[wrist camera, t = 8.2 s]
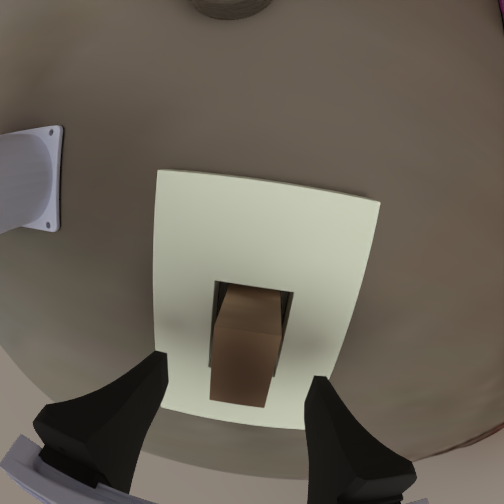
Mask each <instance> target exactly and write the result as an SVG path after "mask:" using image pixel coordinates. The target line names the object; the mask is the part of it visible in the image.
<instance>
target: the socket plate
mask: <svg viewBox="0 0 504 504" xmlns="http://www.w3.org/2000/svg"><path fill="white" fill-rule="evenodd" d="M379 207H380V202H378V201H376V200H373V199H371V198H368V197H363V196H358V195H353V194H348V193H343V192H338V191H333V190H328V189H322V188H317V187H311V186H305V185H299V184H293V183H287V182H280V181H273V180H267V179H259V178H252V177H244V176H236V175H228V174H219V173H210V172H200V171H189V170H177V169H163V170H158V173H157V185H156V198H155V215H154V239H153V309H154V333H155V349H156V351H161V352H165V353H167V359H168V377H169V383H168V386H167V389H166V392H165V395H164V398H163V400H162V402H161V407H163V408H167V409H171V410H175V411H179V412H183V413H188V414H192V415H197V416H202V417H207V418H212V419H217V420H223V421H229V422H235V423H242V424H249V425H257V426H266V427H276V428H289V429H305V424H304V402H305V399H306V396H307V394H308V391H309V388H310V386H311V383H312V380H313V377H314V375H316V376H326V377H327V378H328V380H329V378H330V376H331V373H332V371H333V368H334V365H335V363H336V360H337V357H338V355H339V352H340V349H341V346H342V343H343V341H344V338H345V335H346V332H347V329H348V326H349V323H350V320H351V317H352V313H353V310H354V307H355V304H356V300H357V297H358V294H359V290H360V287H361V283H362V279H363V276H364V272H365V268H366V265H367V261H368V257H369V253H370V249H371V244H372V240H373V236H374V231H375V227H376V222H377V217H378V212H379ZM220 281H223V282H229V283H235V284H242V285H248V286H255V287H262V288H268V289H275V290H282V291H290V293H289V298H288V303H287V307H286V312H285V317H284V321H283V326H282V337H281V341H280V346H279V350H278V354H277V359H276V363H275V367H274V371H273V375H272V379H271V383H270V388H269V391H268V395H267V399H266V403H265V407H264V408H259V407H252V406H244V405H237V404H231V403H225V402H219V401H214V400H209V396H210V379H211V364H212V350H213V336H214V325H215V323H216V315H217V304H218V293H219V282H220Z"/></svg>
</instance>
